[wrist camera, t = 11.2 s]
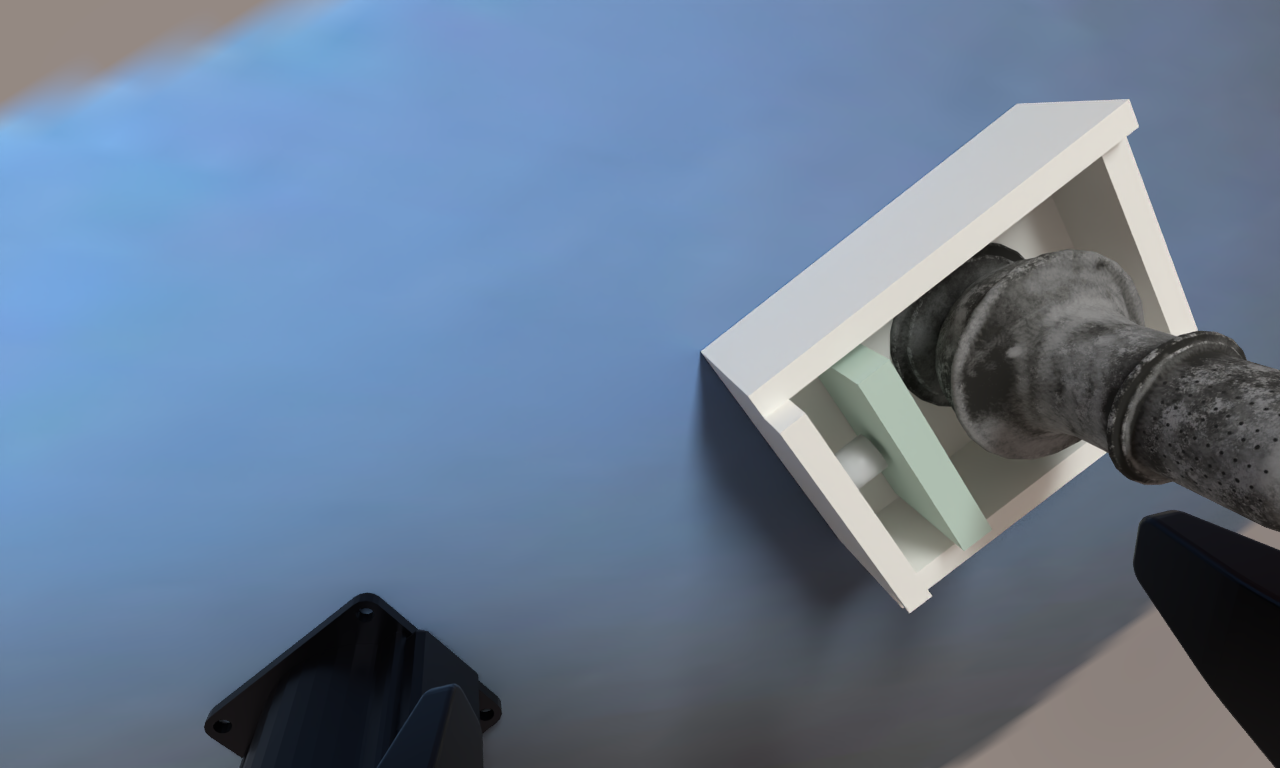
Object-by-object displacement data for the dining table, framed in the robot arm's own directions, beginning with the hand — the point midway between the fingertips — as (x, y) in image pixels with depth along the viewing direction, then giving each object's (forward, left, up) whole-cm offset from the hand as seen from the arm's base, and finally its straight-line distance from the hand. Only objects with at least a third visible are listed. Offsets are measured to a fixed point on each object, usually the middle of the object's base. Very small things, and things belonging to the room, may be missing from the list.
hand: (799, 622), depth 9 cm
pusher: (+5, -6, -12) cm, 14 cm away
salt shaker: (+9, -6, -12) cm, 17 cm away
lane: (+8, -6, -13) cm, 17 cm away
